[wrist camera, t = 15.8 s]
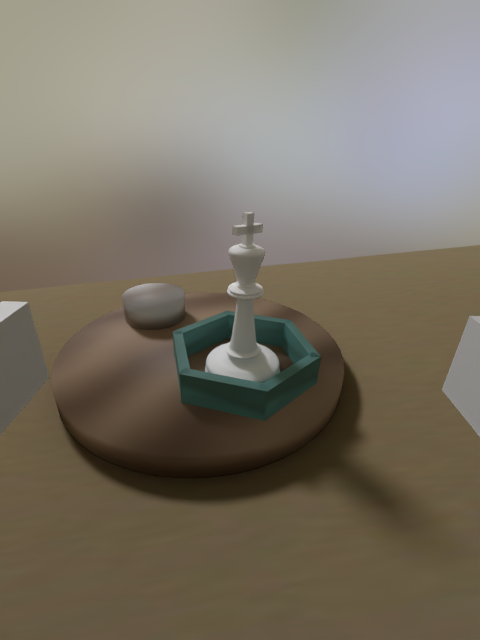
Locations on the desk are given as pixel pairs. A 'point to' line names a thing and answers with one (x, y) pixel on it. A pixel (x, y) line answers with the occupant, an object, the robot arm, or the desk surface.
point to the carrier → (193, 385)
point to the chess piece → (244, 314)
